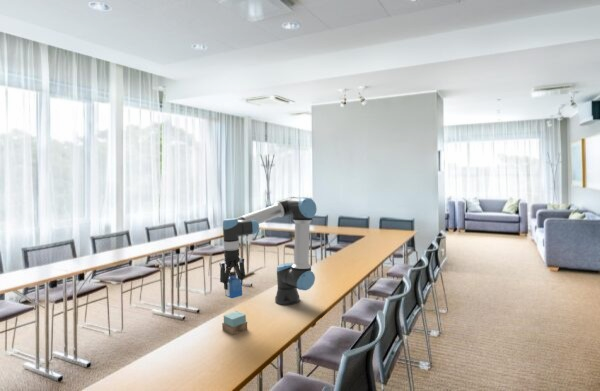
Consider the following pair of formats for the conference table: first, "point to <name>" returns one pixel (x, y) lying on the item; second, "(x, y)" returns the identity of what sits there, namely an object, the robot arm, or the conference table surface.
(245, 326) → the walnut slab
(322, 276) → the conference table surface
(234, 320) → the teal slab
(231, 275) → the perfume bottle
